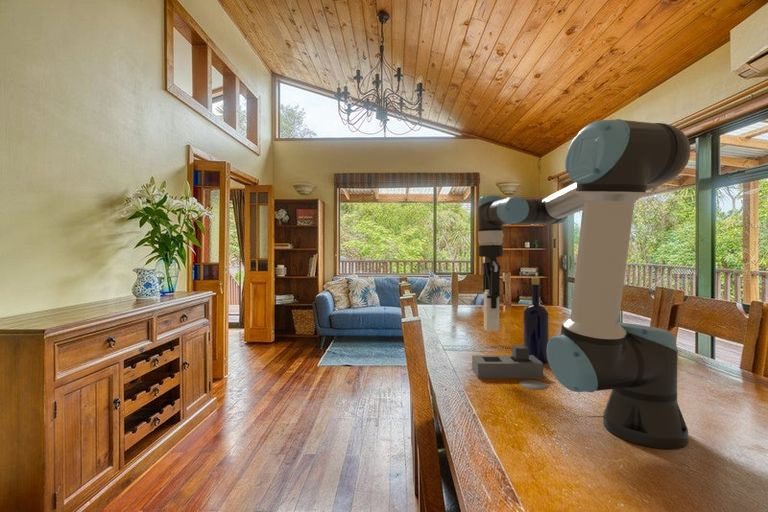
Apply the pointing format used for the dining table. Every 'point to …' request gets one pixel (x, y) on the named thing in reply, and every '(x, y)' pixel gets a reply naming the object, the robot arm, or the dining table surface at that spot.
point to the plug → (488, 323)
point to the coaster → (533, 384)
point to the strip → (508, 365)
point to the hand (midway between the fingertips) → (491, 316)
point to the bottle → (536, 326)
